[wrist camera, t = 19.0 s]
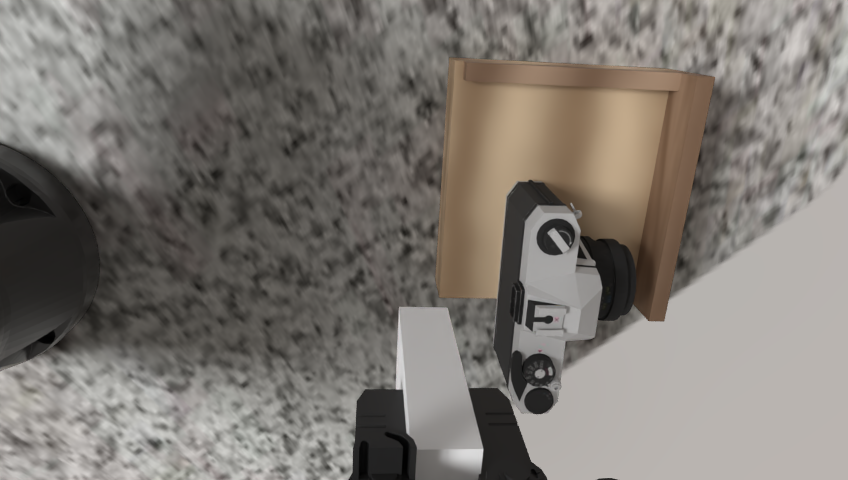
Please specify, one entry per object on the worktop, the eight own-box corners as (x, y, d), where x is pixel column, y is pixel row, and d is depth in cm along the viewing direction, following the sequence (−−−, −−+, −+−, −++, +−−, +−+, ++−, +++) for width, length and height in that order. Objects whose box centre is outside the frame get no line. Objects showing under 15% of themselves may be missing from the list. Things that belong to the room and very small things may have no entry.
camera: (596, 357, 42) (655, 430, 34) (486, 363, 42) (517, 439, 33) (609, 173, 39) (678, 202, 30) (489, 176, 38) (525, 207, 30)
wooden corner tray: (435, 279, 43) (444, 318, 37) (449, 57, 38) (462, 64, 32) (626, 282, 44) (663, 321, 38) (665, 68, 39) (715, 77, 33)
